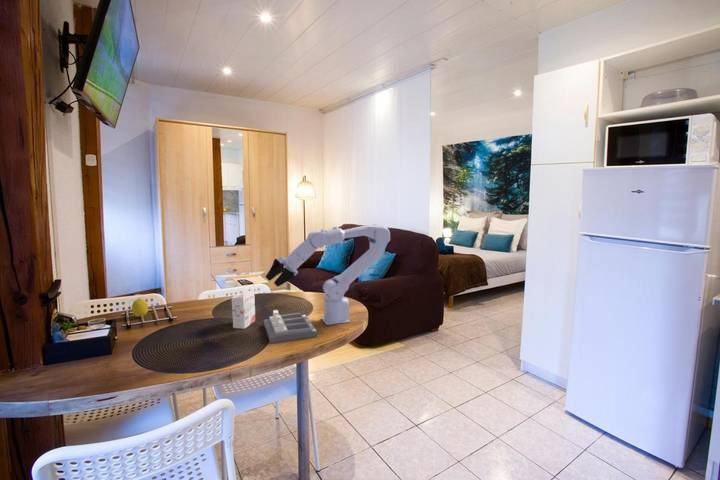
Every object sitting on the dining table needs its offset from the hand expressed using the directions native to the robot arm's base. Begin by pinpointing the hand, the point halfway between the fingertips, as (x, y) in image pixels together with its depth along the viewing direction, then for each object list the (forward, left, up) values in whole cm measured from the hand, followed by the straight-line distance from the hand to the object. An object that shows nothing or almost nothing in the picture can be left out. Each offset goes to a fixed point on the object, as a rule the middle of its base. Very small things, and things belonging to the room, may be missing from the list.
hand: (271, 281), depth 128 cm
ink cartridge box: (+10, -7, -18) cm, 22 cm away
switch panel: (-5, +5, -18) cm, 19 cm away
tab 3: (-1, +10, -15) cm, 18 cm away
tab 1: (-1, -1, -15) cm, 16 cm away
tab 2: (-1, +5, -15) cm, 16 cm away
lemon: (+48, -29, -18) cm, 59 cm away
